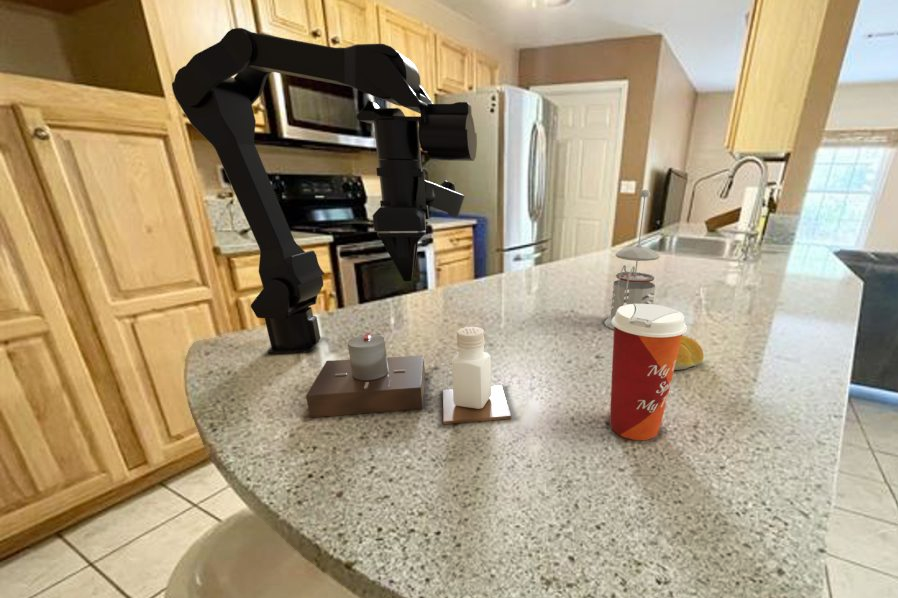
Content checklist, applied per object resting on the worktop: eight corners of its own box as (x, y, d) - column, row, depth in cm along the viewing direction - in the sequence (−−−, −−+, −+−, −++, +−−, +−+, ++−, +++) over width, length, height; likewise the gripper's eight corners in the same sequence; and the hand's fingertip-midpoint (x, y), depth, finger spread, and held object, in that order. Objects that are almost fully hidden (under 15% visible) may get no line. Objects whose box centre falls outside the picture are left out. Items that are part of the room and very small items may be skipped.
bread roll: (711, 363, 66) (716, 339, 65) (674, 376, 62) (678, 351, 60) (669, 346, 73) (672, 324, 71) (632, 356, 68) (635, 333, 67)
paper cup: (657, 454, 44) (678, 329, 39) (590, 431, 48) (601, 314, 43) (676, 421, 50) (696, 309, 45) (615, 403, 54) (627, 298, 49)
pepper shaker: (482, 411, 51) (480, 338, 47) (452, 407, 52) (447, 335, 48) (493, 396, 54) (491, 327, 51) (464, 392, 55) (461, 323, 52)
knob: (386, 379, 53) (382, 343, 51) (349, 381, 52) (343, 345, 50) (390, 364, 57) (386, 331, 55) (355, 366, 56) (350, 333, 54)
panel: (310, 417, 50) (305, 394, 49) (330, 380, 59) (326, 359, 58) (422, 408, 52) (420, 386, 51) (425, 374, 61) (423, 354, 60)
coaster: (443, 424, 49) (443, 421, 49) (442, 392, 56) (442, 389, 56) (511, 418, 50) (511, 415, 50) (502, 387, 58) (502, 385, 57)
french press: (661, 322, 85) (680, 190, 75) (643, 339, 76) (662, 191, 66) (615, 313, 89) (628, 188, 80) (592, 329, 80) (604, 189, 71)
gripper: (462, 159, 50) (467, 287, 56) (456, 163, 67) (461, 261, 73) (364, 157, 48) (380, 290, 54) (384, 161, 65) (394, 262, 71)
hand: (410, 274), depth 63 cm, fingers open, 9 cm apart
